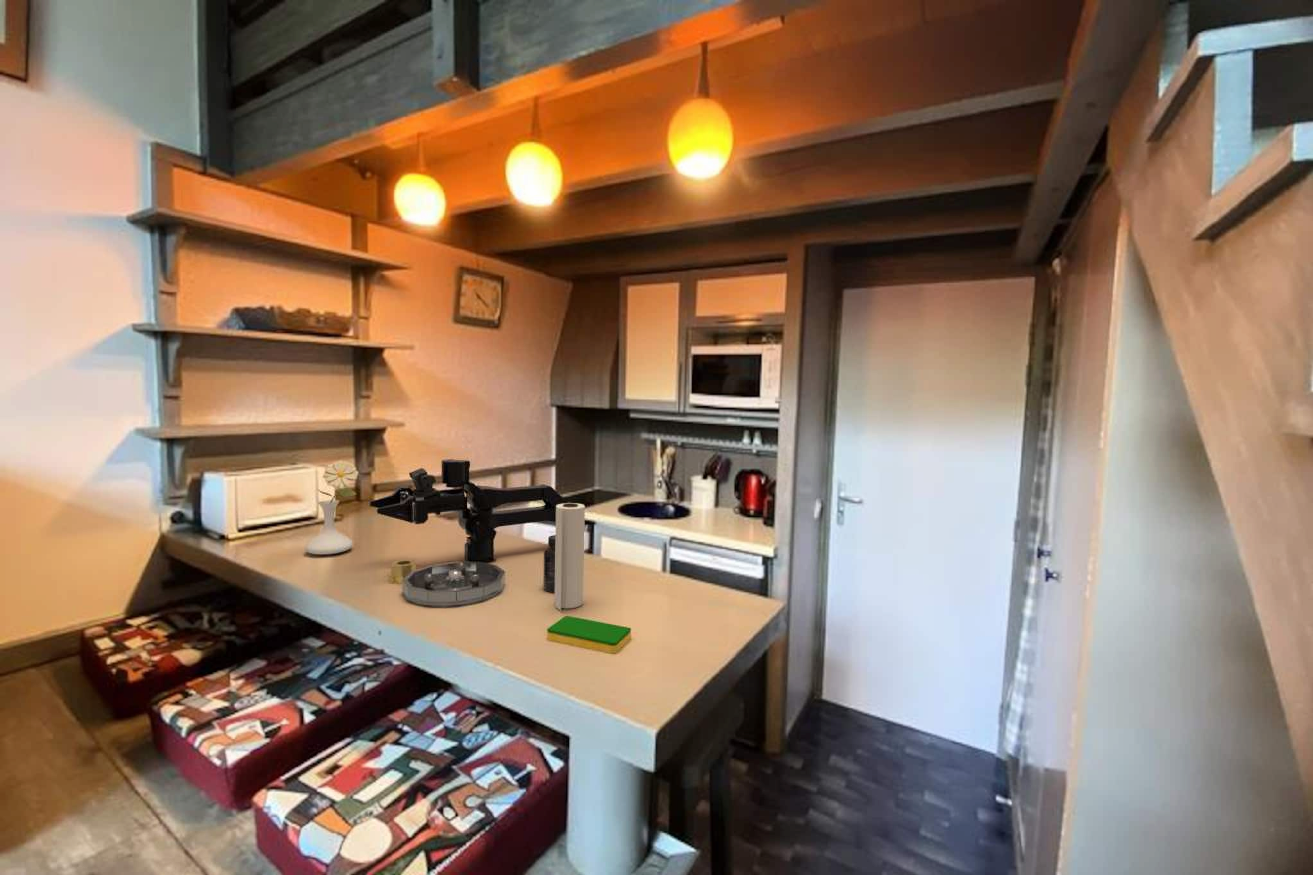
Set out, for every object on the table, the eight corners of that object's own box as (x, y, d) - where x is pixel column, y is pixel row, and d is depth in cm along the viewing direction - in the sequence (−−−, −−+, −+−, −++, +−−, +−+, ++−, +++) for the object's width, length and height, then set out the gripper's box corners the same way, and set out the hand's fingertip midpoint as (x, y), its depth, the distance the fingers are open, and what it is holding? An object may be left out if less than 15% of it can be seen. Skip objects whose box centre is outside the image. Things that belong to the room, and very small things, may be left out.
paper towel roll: (571, 596, 123) (573, 501, 122) (588, 604, 119) (590, 505, 117) (543, 604, 118) (545, 504, 117) (560, 613, 114) (562, 509, 112)
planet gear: (414, 573, 136) (414, 557, 135) (421, 580, 131) (421, 564, 130) (386, 577, 132) (386, 561, 132) (392, 585, 127) (392, 568, 127)
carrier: (485, 569, 140) (485, 552, 140) (517, 595, 123) (518, 575, 123) (394, 584, 128) (394, 565, 127) (416, 615, 111) (416, 593, 111)
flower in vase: (297, 558, 145) (295, 462, 143) (314, 546, 156) (313, 457, 154) (352, 557, 147) (351, 463, 145) (365, 545, 158) (364, 458, 156)
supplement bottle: (579, 588, 129) (580, 537, 128) (555, 595, 124) (556, 542, 123) (561, 581, 133) (561, 531, 132) (537, 587, 128) (537, 536, 127)
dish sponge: (615, 656, 97) (615, 642, 97) (545, 641, 102) (546, 628, 102) (631, 640, 103) (631, 627, 103) (565, 627, 108) (566, 614, 108)
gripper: (431, 464, 148) (366, 468, 139) (452, 474, 133) (380, 479, 124) (432, 506, 149) (366, 512, 139) (452, 520, 134) (381, 528, 124)
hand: (373, 507), depth 132 cm, fingers open, 9 cm apart
